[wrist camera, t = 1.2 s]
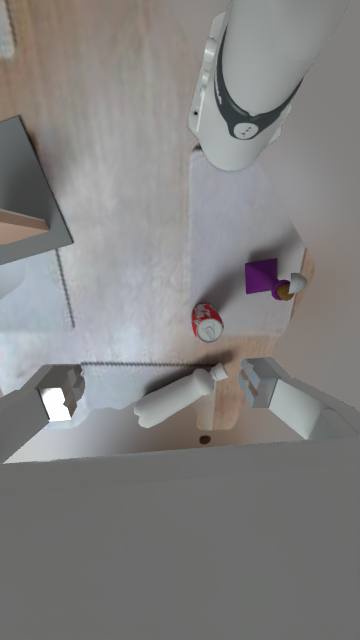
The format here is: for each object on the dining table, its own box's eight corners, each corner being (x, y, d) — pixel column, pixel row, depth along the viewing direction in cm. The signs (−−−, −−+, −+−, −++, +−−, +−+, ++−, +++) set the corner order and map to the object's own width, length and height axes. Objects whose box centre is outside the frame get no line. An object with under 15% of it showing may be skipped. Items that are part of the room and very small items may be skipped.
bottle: (153, 423, 60) (232, 381, 56) (140, 435, 52) (232, 387, 47) (142, 397, 63) (217, 355, 58) (128, 404, 54) (214, 356, 50)
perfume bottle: (270, 287, 48) (319, 305, 31) (242, 291, 48) (275, 311, 31) (270, 257, 45) (324, 259, 28) (240, 262, 46) (276, 267, 29)
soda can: (209, 297, 49) (218, 310, 38) (219, 319, 51) (230, 338, 40) (186, 308, 50) (188, 323, 39) (196, 329, 52) (201, 350, 41)
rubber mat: (73, 243, 44) (72, 243, 44) (1, 264, 46) (-1, 264, 45) (20, 117, 36) (18, 116, 36) (-65, 149, 38) (-68, 148, 37)
